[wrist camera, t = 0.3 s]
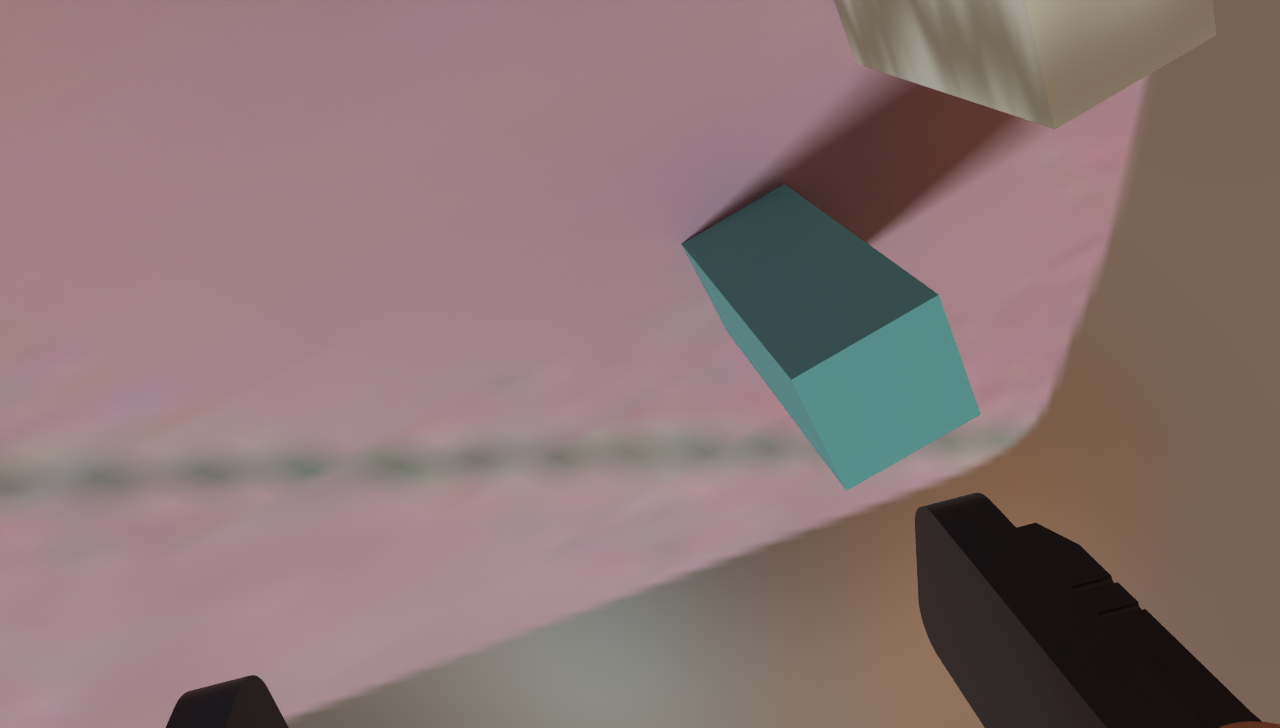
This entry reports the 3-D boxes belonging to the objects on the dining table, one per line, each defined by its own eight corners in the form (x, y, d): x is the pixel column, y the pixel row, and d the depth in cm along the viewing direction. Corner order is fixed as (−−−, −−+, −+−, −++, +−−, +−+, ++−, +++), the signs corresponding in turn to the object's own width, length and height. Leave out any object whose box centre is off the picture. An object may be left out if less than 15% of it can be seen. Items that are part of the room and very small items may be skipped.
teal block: (681, 244, 32) (791, 380, 23) (784, 183, 32) (938, 294, 22) (728, 333, 34) (846, 490, 25) (824, 277, 34) (980, 414, 25)
